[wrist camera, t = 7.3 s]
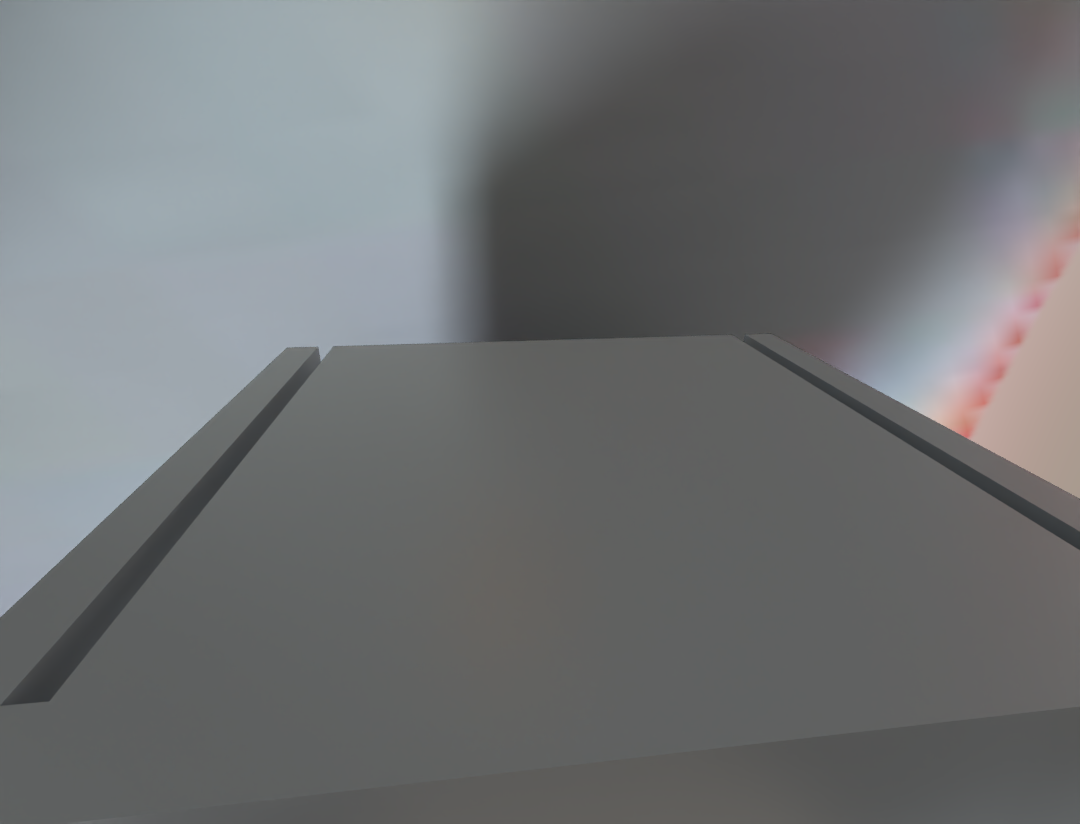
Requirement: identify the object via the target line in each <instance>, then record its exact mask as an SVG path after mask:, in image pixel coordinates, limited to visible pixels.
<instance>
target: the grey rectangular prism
mask: <svg viewBox="0 0 1080 824" xmlns="http://www.w3.org/2000/svg"><path fill="white" fill-rule="evenodd" d="M0 824H1080V499H1079V498H1077V497H1075V496H1074V495H1072V494H1070V493H1068V492H1066V491H1064V490H1062V489H1061V488H1059V487H1057V486H1055V485H1053V484H1051V483H1049V482H1047V481H1046V480H1044V479H1042V478H1040V477H1038V476H1036V475H1034V474H1032V473H1031V472H1029V471H1027V470H1025V469H1023V468H1021V467H1019V466H1018V465H1016V464H1014V463H1012V462H1010V461H1008V460H1006V459H1004V458H1003V457H1001V456H999V455H997V454H995V453H993V452H991V451H990V450H988V449H986V448H984V447H982V446H980V445H978V444H976V443H975V442H973V441H971V440H969V439H967V438H965V437H963V436H962V435H960V434H958V433H956V432H954V431H952V430H950V429H948V428H947V427H945V426H943V425H941V424H939V423H937V422H935V421H933V420H932V419H930V418H928V417H926V416H924V415H922V414H920V413H919V412H917V411H915V410H913V409H911V408H909V407H907V406H905V405H904V404H902V403H900V402H898V401H896V400H894V399H892V398H890V397H889V396H887V395H885V394H883V393H881V392H879V391H877V390H876V389H874V388H872V387H870V386H868V385H866V384H864V383H862V382H861V381H859V380H857V379H855V378H853V377H851V376H849V375H848V374H846V373H844V372H842V371H840V370H838V369H836V368H834V367H833V366H831V365H829V364H827V363H825V362H823V361H821V360H819V359H818V358H816V357H814V356H812V355H810V354H808V353H806V352H805V351H803V350H801V349H799V348H797V347H795V346H793V345H791V344H790V343H788V342H786V341H784V340H782V339H780V338H778V337H776V336H775V335H773V334H745V337H744V342H743V341H741V340H740V339H738V338H736V337H735V336H733V335H704V336H670V337H636V338H602V339H568V340H533V341H499V342H465V343H431V344H397V345H363V346H333V348H332V349H331V350H330V351H329V353H328V354H327V355H326V356H325V358H324V359H323V360H322V361H320V355H319V349H318V347H294V348H286V349H285V350H284V351H283V352H282V353H281V354H280V355H279V356H278V357H277V358H275V359H274V360H273V361H272V362H271V363H270V364H269V365H268V366H267V367H266V368H265V369H264V370H263V371H262V372H261V373H260V374H258V375H257V376H256V377H255V378H254V379H253V380H252V381H251V382H250V383H249V384H248V385H247V386H246V387H245V388H244V389H243V390H242V391H240V392H239V393H238V394H237V395H236V396H235V397H234V398H233V399H232V400H231V401H230V402H229V403H228V404H227V405H226V406H225V407H223V408H222V409H221V410H220V411H219V412H218V413H217V414H216V415H215V416H214V417H213V418H212V419H211V420H210V421H209V422H208V423H206V424H205V425H204V426H203V427H202V428H201V429H200V430H199V431H198V432H197V433H196V434H195V435H194V436H193V437H192V438H191V439H189V440H188V441H187V442H186V443H185V444H184V445H183V446H182V447H181V448H180V449H179V450H178V451H177V452H176V453H175V454H174V455H172V456H171V457H170V458H169V459H168V460H167V461H166V462H165V463H164V464H163V465H162V466H161V467H160V468H159V469H158V470H157V471H156V472H154V473H153V474H152V475H151V476H150V477H149V478H148V479H147V480H146V481H145V482H144V483H143V484H142V485H141V486H140V487H139V488H137V489H136V490H135V491H134V492H133V493H132V494H131V495H130V496H129V497H128V498H127V499H126V500H125V501H124V502H123V503H122V504H120V505H119V506H118V507H117V508H116V509H115V510H114V511H113V512H112V513H111V514H110V515H109V516H108V517H107V518H106V519H105V520H103V521H102V522H101V523H100V524H99V525H98V526H97V527H96V528H95V529H94V530H93V531H92V532H91V533H90V534H89V535H88V536H86V537H85V538H84V539H83V540H82V541H81V542H80V543H79V544H78V545H77V546H76V547H75V548H74V549H73V550H72V551H71V552H69V553H68V554H67V555H66V556H65V557H64V558H63V559H62V560H61V561H60V562H59V563H58V564H57V565H56V566H55V567H54V568H53V569H51V570H50V571H49V572H48V573H47V574H46V575H45V576H44V577H43V578H42V579H41V580H40V581H39V582H38V583H37V584H36V585H34V586H33V587H32V588H31V589H30V590H29V591H28V592H27V593H26V594H25V595H24V596H23V597H22V598H21V599H20V600H19V601H17V602H16V603H15V604H14V605H13V606H12V607H11V608H10V609H9V610H8V611H7V612H6V613H5V614H4V615H3V616H2V617H0Z"/></svg>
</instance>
